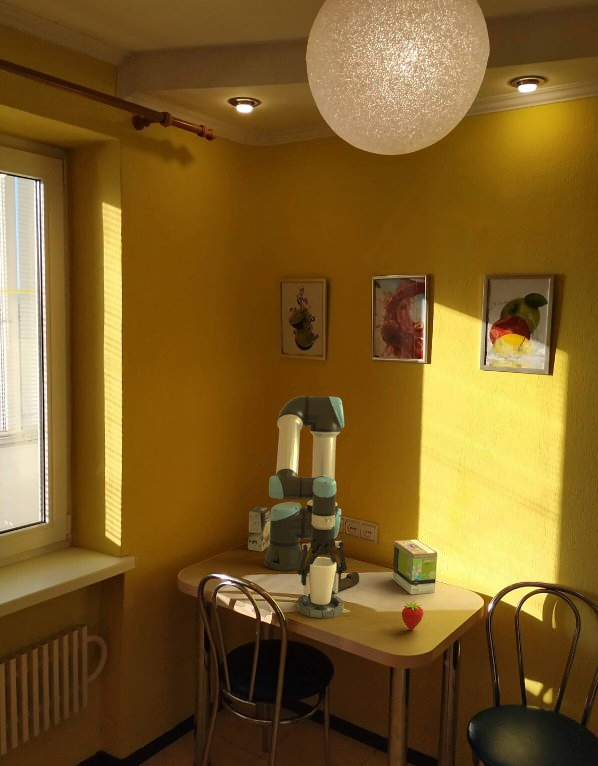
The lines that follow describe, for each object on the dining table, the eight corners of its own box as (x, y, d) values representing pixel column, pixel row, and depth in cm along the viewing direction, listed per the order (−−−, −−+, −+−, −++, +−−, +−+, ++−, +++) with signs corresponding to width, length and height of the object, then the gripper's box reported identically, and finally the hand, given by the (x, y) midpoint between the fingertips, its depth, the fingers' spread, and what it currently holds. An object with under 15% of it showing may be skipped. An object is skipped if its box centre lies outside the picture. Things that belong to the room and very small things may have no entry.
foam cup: (320, 592, 235) (321, 555, 234) (340, 601, 229) (342, 562, 227) (300, 599, 228) (301, 561, 227) (320, 609, 222) (322, 569, 221)
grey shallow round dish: (291, 601, 234) (291, 595, 233) (333, 596, 238) (333, 591, 238) (305, 620, 219) (305, 614, 219) (350, 615, 224) (350, 609, 224)
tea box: (436, 592, 245) (438, 551, 243) (410, 595, 242) (412, 554, 240) (416, 576, 259) (418, 538, 257) (391, 579, 256) (393, 540, 254)
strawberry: (426, 630, 215) (428, 599, 214) (411, 637, 210) (413, 605, 209) (411, 623, 219) (413, 593, 218) (396, 630, 214) (397, 599, 213)
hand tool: (327, 599, 237) (328, 586, 236) (319, 595, 240) (319, 582, 239) (364, 585, 250) (365, 573, 249) (356, 582, 253) (356, 569, 252)
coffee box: (262, 551, 280) (263, 512, 278) (247, 549, 282) (248, 510, 280) (270, 544, 289) (271, 507, 287) (256, 542, 291) (257, 505, 289)
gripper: (294, 532, 219) (291, 600, 221) (359, 527, 226) (356, 594, 228) (287, 524, 226) (284, 591, 228) (350, 520, 233) (347, 585, 235)
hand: (320, 592), depth 228 cm, fingers closed on foam cup, 9 cm apart
